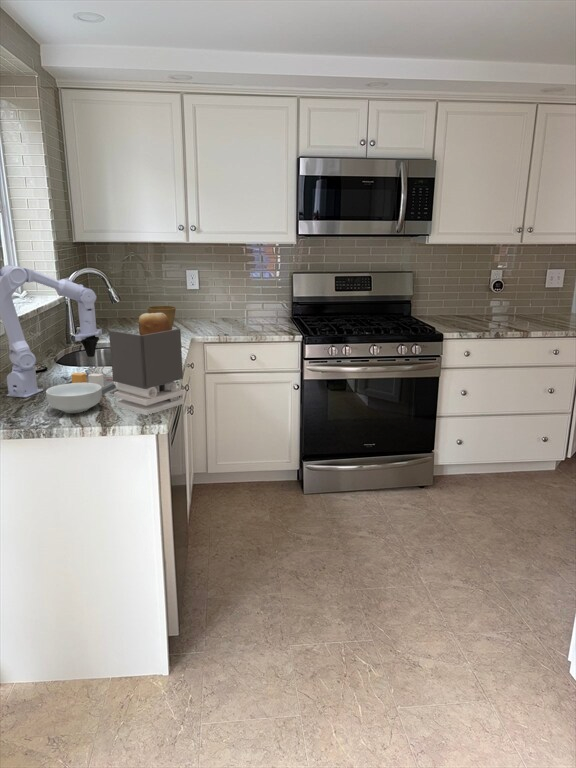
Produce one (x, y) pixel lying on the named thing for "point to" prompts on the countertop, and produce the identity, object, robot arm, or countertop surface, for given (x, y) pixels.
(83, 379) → the orange block
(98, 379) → the breaker panel
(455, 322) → the countertop surface
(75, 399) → the cereal bowl
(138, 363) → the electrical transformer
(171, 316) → the plant pot
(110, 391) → the cords
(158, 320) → the bread loaf
